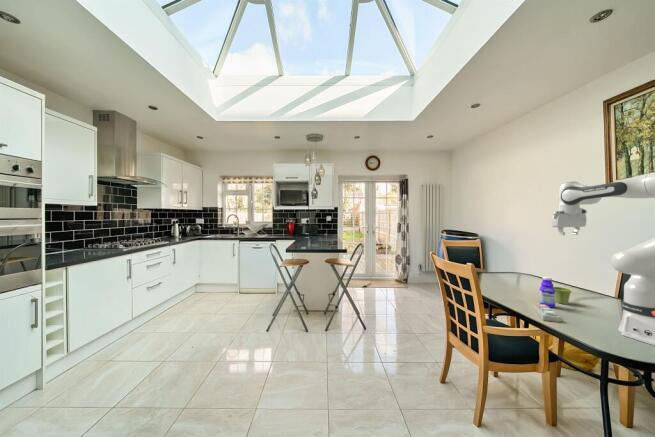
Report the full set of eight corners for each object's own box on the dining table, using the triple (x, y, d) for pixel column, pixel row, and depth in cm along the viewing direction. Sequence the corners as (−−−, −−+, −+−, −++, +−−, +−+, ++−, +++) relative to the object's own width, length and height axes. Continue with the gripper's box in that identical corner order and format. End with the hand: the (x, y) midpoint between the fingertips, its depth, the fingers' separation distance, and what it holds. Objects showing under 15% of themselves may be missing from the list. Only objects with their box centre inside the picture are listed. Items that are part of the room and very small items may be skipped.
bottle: (540, 306, 155) (540, 277, 155) (538, 303, 160) (538, 275, 160) (556, 308, 152) (556, 279, 152) (553, 305, 157) (553, 276, 157)
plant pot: (563, 300, 166) (563, 286, 166) (576, 305, 157) (576, 291, 156) (547, 300, 167) (547, 286, 167) (559, 305, 158) (559, 291, 157)
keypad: (533, 309, 151) (533, 304, 151) (548, 311, 148) (548, 306, 148) (543, 320, 136) (543, 315, 136) (560, 322, 133) (560, 317, 133)
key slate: (540, 309, 145) (540, 306, 145) (549, 310, 143) (549, 307, 143) (542, 312, 141) (542, 309, 141) (551, 313, 140) (551, 310, 140)
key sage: (543, 312, 140) (543, 309, 140) (552, 314, 139) (552, 310, 139) (546, 315, 137) (546, 312, 137) (555, 316, 135) (555, 313, 135)
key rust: (537, 306, 149) (537, 303, 149) (545, 307, 148) (545, 304, 148) (539, 309, 146) (539, 306, 146) (548, 310, 144) (548, 307, 144)
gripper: (560, 210, 143) (560, 235, 143) (589, 210, 147) (589, 234, 147) (548, 211, 149) (548, 235, 150) (576, 210, 153) (576, 234, 154)
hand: (568, 235), depth 149 cm, fingers open, 8 cm apart
